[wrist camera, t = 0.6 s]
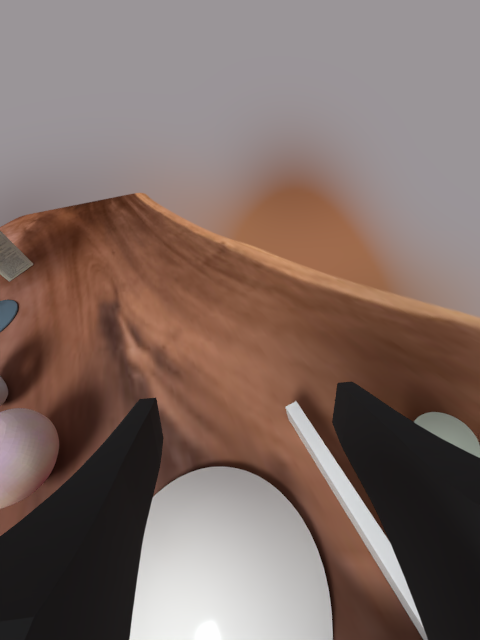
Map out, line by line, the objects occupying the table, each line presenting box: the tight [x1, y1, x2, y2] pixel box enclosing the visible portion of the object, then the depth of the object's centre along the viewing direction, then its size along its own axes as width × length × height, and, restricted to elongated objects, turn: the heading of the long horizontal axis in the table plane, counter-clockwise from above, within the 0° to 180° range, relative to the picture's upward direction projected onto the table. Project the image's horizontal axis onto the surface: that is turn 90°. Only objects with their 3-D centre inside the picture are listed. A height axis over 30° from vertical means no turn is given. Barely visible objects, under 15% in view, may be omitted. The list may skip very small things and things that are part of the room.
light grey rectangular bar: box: [286, 401, 428, 640], centre depth 23 cm, size 18×1×3 cm, turn 25°
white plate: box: [129, 466, 333, 640], centre depth 22 cm, size 18×18×1 cm
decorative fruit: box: [0, 408, 59, 508], centre depth 29 cm, size 9×8×10 cm
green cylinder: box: [414, 412, 480, 458], centre depth 23 cm, size 4×4×5 cm
